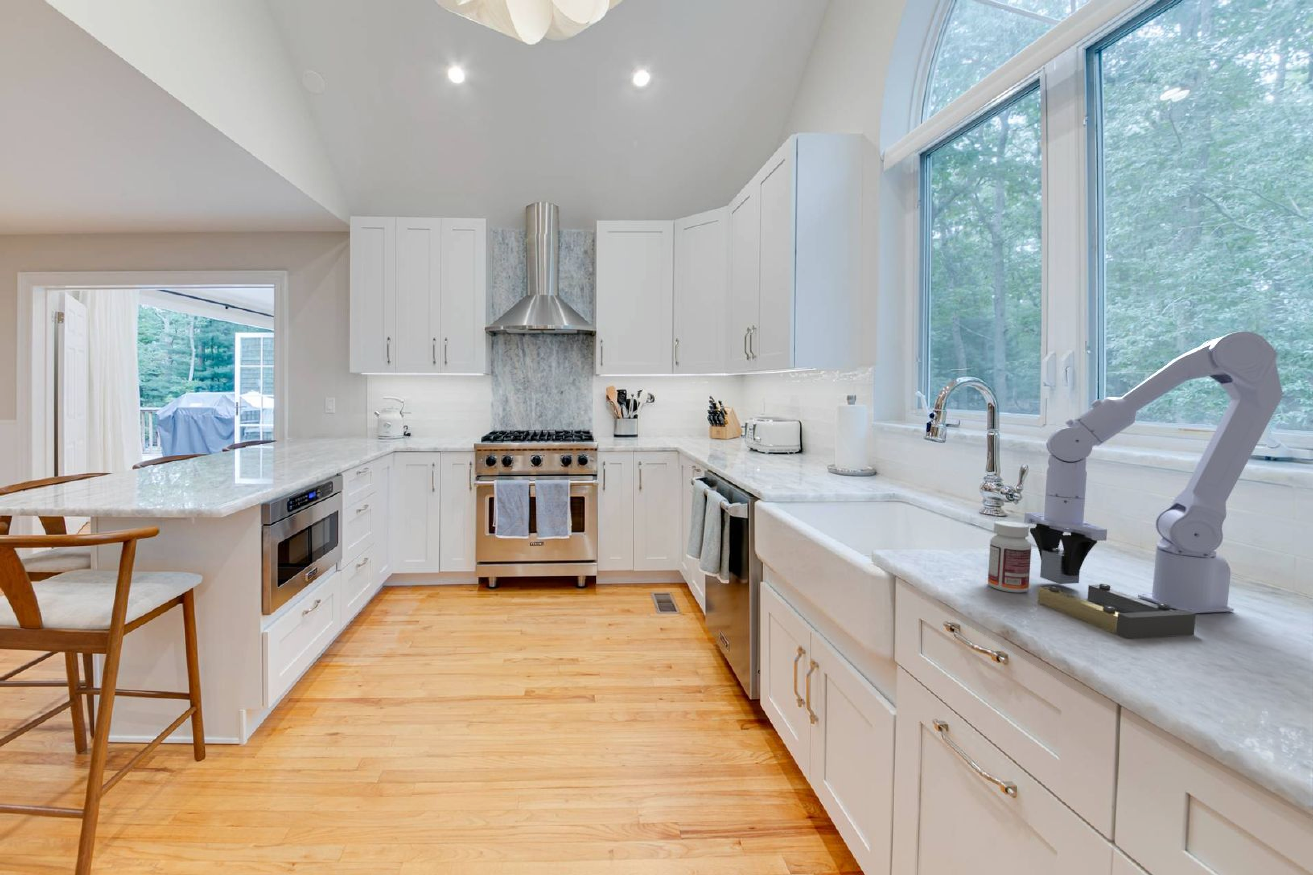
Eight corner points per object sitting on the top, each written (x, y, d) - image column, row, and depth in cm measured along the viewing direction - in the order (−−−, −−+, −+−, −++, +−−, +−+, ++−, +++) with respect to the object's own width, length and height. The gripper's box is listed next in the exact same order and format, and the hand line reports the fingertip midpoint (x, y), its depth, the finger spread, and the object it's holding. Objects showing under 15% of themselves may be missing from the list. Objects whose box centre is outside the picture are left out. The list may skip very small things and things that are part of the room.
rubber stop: (1181, 630, 83) (1183, 609, 83) (1193, 634, 82) (1195, 613, 81) (1116, 634, 81) (1117, 613, 81) (1127, 638, 79) (1129, 617, 79)
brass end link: (1047, 601, 94) (1048, 582, 94) (1126, 633, 81) (1128, 612, 81) (1037, 601, 94) (1039, 583, 93) (1116, 634, 81) (1118, 612, 81)
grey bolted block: (1058, 576, 105) (1060, 546, 104) (1078, 583, 101) (1080, 552, 101) (1040, 577, 104) (1042, 547, 104) (1059, 584, 100) (1061, 552, 100)
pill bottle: (1035, 590, 100) (1039, 525, 99) (1017, 595, 96) (1022, 528, 96) (998, 580, 105) (1002, 519, 104) (980, 585, 101) (984, 521, 101)
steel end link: (1096, 599, 96) (1097, 581, 96) (1181, 630, 83) (1183, 609, 83) (1087, 599, 95) (1088, 581, 95) (1171, 630, 83) (1173, 609, 83)
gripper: (1012, 489, 108) (1008, 560, 109) (1084, 503, 94) (1078, 584, 94) (1044, 489, 109) (1039, 559, 110) (1119, 502, 95) (1113, 583, 96)
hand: (1059, 571), depth 102 cm, fingers closed on grey bolted block, 4 cm apart
